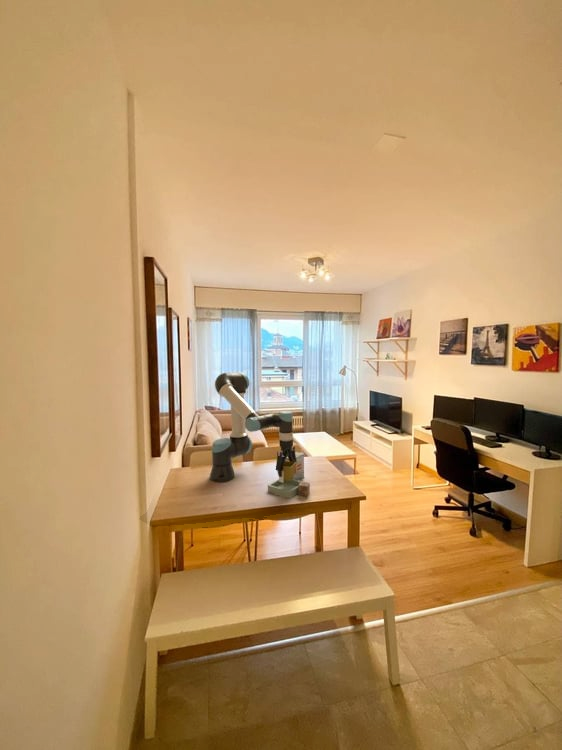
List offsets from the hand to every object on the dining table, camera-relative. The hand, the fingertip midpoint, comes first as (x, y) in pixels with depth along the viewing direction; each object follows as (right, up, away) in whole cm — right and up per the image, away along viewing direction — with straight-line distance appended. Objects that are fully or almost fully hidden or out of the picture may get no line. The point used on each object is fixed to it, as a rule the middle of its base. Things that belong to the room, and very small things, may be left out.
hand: (286, 478), depth 170 cm
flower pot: (0, 0, 0) cm, 0 cm away
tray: (0, -6, +1) cm, 6 cm away
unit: (+4, -5, +16) cm, 17 cm away
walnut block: (+9, -7, -5) cm, 13 cm away
